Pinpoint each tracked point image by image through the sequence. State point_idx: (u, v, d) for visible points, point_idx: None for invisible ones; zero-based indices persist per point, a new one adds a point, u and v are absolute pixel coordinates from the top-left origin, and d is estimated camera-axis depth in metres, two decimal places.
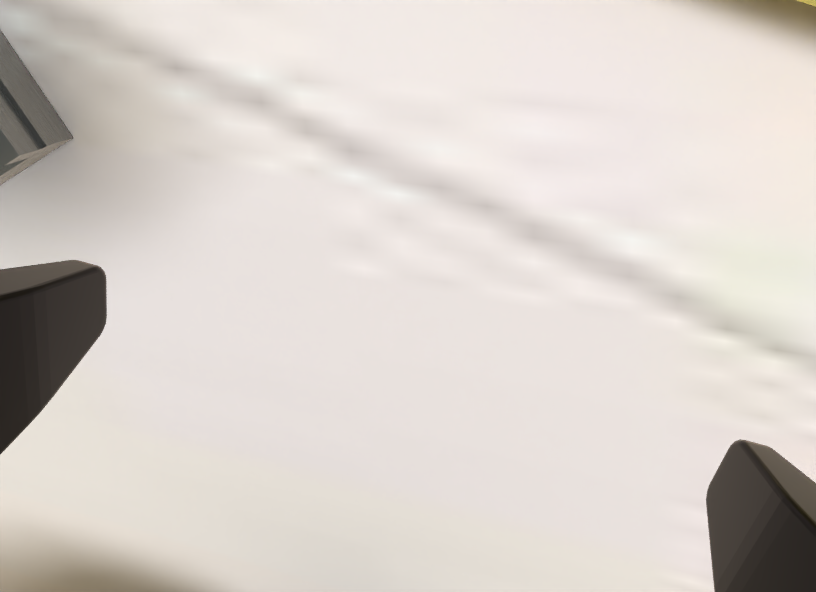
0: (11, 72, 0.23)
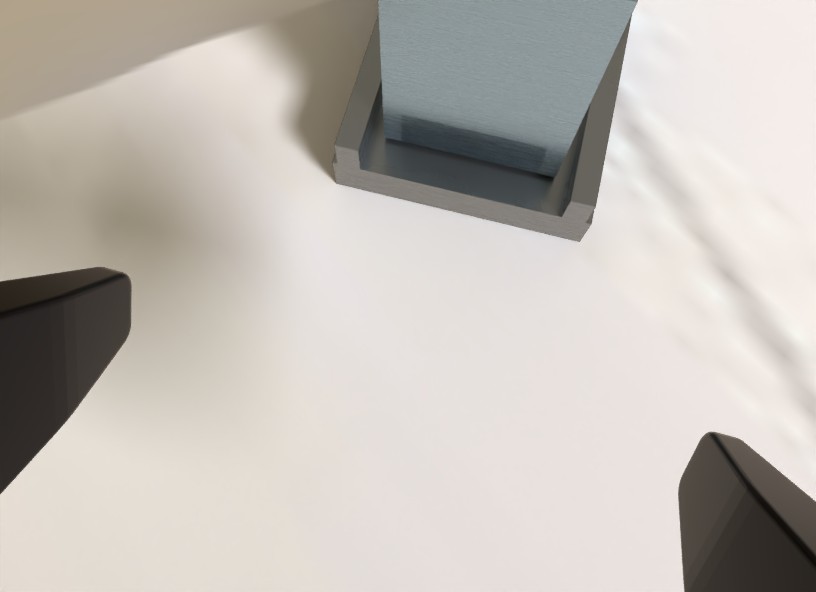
0: None
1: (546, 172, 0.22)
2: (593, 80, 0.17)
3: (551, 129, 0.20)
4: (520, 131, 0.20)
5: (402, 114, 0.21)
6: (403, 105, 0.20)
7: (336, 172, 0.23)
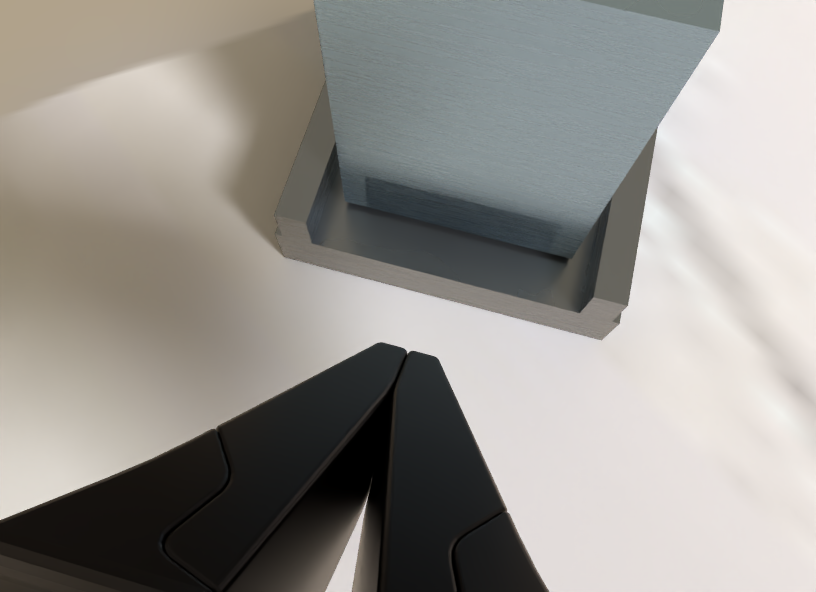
0: None
1: (559, 252, 0.16)
2: (635, 143, 0.12)
3: (569, 203, 0.14)
4: (526, 203, 0.15)
5: (365, 175, 0.15)
6: (366, 164, 0.15)
7: (282, 245, 0.17)
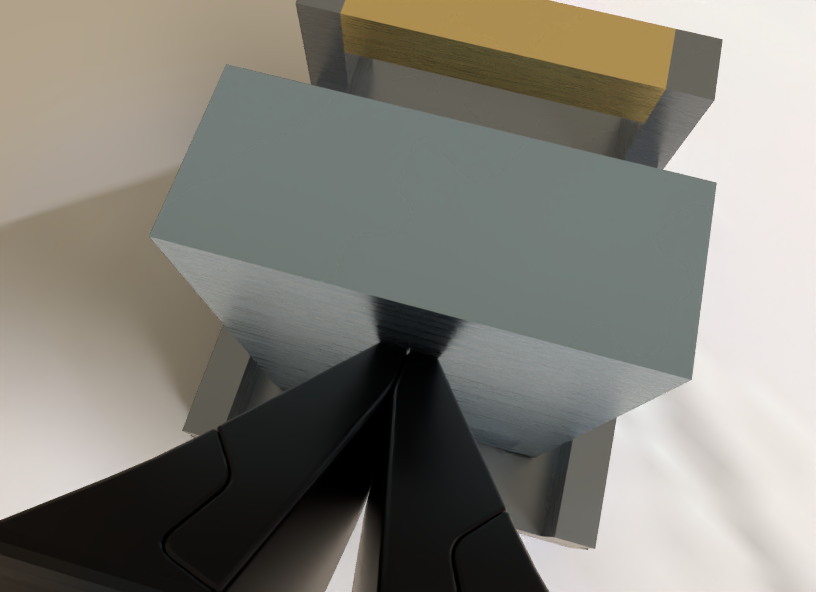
0: None
1: (521, 452, 0.14)
2: (595, 418, 0.09)
3: (525, 432, 0.12)
4: (476, 423, 0.12)
5: (291, 377, 0.13)
6: (289, 372, 0.13)
7: None
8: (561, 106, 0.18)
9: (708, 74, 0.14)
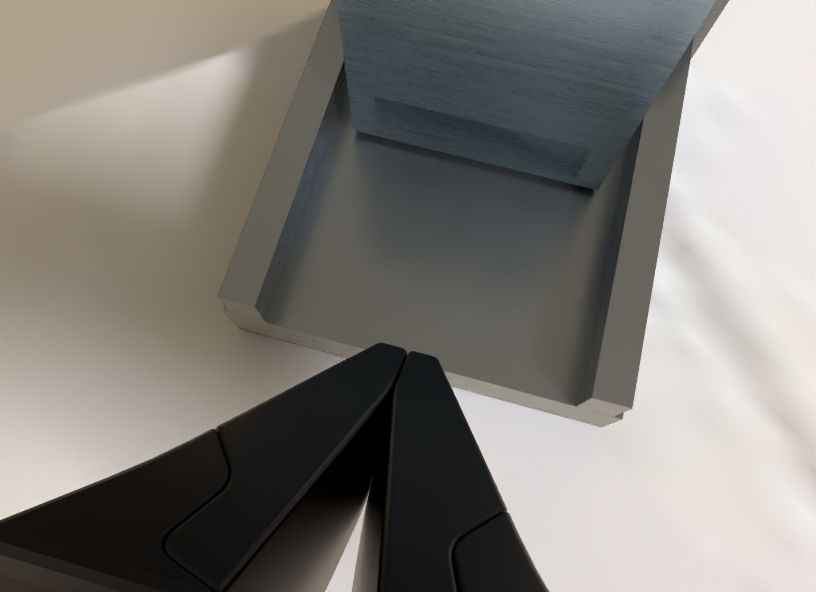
0: None
1: (585, 183, 0.15)
2: (680, 38, 0.10)
3: (599, 120, 0.13)
4: (551, 123, 0.13)
5: (375, 95, 0.14)
6: (377, 82, 0.14)
7: (234, 320, 0.15)
8: None
9: None
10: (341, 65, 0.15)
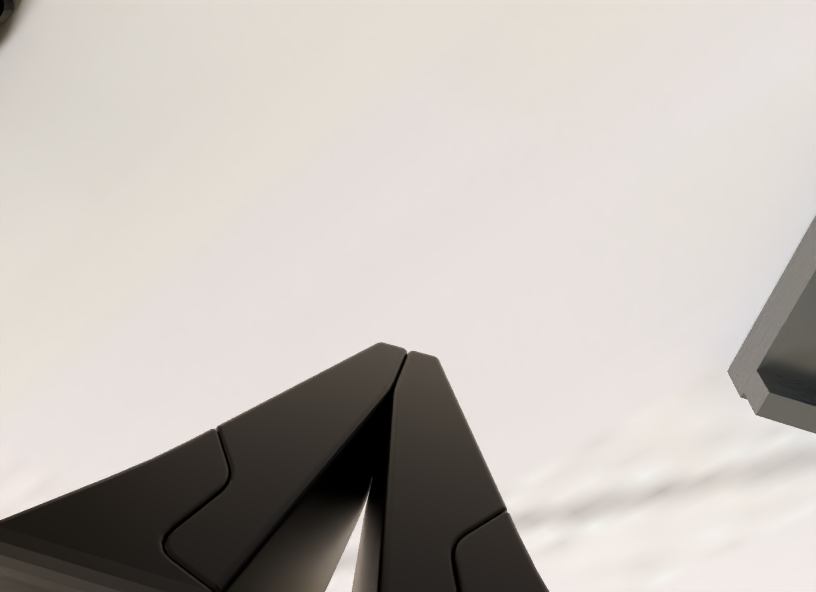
0: None
1: None
2: None
3: None
4: None
5: None
6: None
7: None
8: None
9: None
10: None
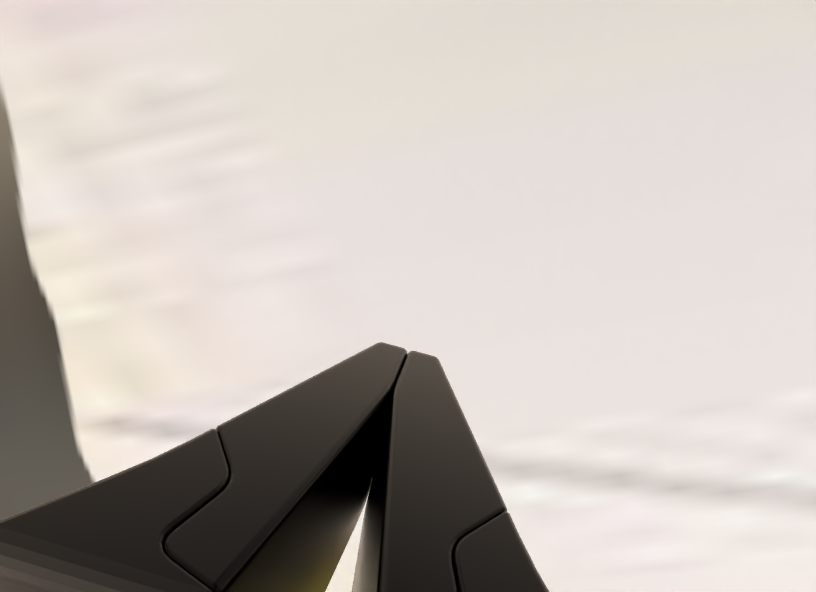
0: None
1: None
2: None
3: None
4: None
5: None
6: None
7: None
8: None
9: None
10: None
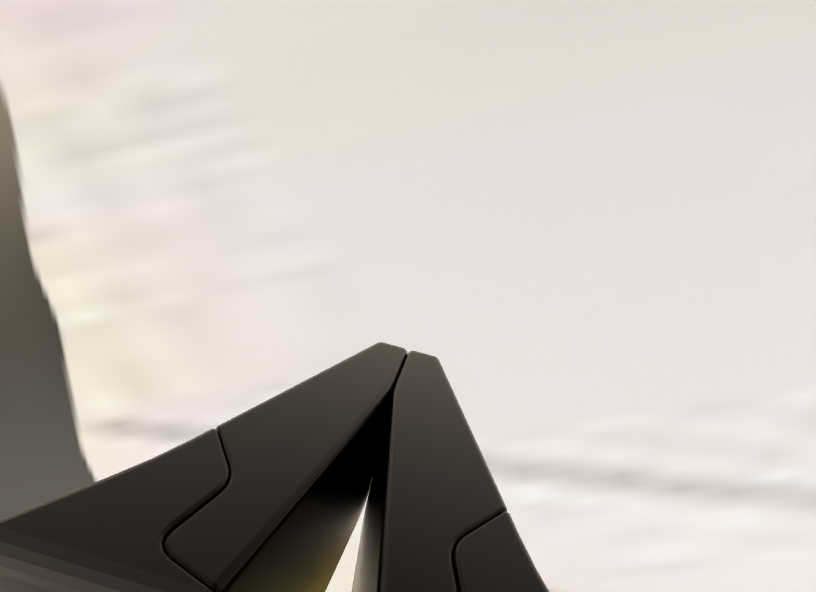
0: None
1: None
2: None
3: None
4: None
5: None
6: None
7: None
8: None
9: None
10: None
